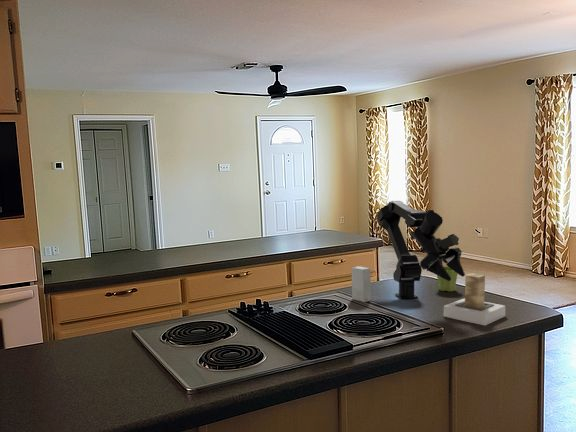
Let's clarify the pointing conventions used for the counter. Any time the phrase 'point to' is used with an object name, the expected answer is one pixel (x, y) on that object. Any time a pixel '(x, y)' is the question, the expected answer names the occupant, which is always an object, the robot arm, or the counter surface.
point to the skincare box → (361, 283)
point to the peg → (474, 290)
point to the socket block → (474, 312)
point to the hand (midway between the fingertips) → (457, 278)
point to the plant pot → (445, 284)
